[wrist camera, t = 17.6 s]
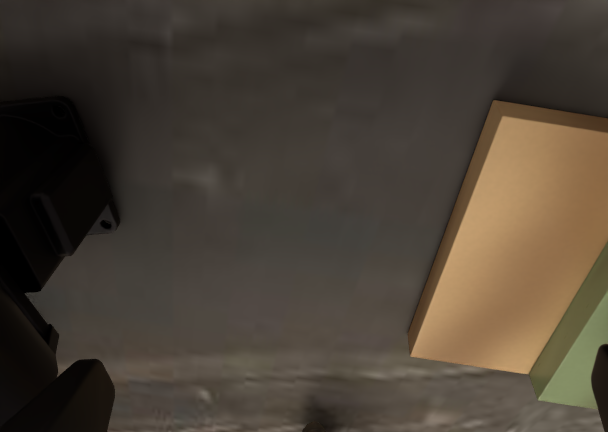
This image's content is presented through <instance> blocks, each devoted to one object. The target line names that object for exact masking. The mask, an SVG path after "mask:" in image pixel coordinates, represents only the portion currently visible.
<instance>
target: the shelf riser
mask: <svg viewBox="0 0 608 432" xmlns="http://www.w3.org/2000/svg"><path fill="white" fill-rule="evenodd" d="M408 342H409V350H410V356H411V357H418V358H425V359H431V360H438V361H444V362H451V363H457V364H464V365H470V366H477V367H483V368H490V369H496V370H503V371H509V372H516V373H522V374H529V376H530V379H531V382H532V385H533V388H534V391H535V394H536V397H537V399H538V400H540V401H546V402H553V403H559V404H566V405H573V406H579V407H586V408H592V409H598V407H597V404H596V400H595V397H594V393H593V390H592V385H591V374H592V370H593V366H594V362H595V359H596V355H597V351H598V348H599V347H600V346H601V345H602V344H608V118H602V117H596V116H589V115H583V114H577V113H571V112H565V111H559V110H552V109H546V108H540V107H534V106H528V105H522V104H515V103H509V102H503V101H497V100H493V102H492V105H491V108H490V111H489V113H488V116H487V119H486V121H485V124H484V127H483V130H482V132H481V135H480V138H479V141H478V143H477V146H476V149H475V151H474V154H473V157H472V160H471V162H470V165H469V168H468V171H467V173H466V176H465V179H464V182H463V184H462V187H461V190H460V192H459V195H458V198H457V201H456V203H455V206H454V209H453V212H452V214H451V217H450V220H449V222H448V225H447V228H446V231H445V233H444V236H443V239H442V242H441V244H440V247H439V250H438V252H437V255H436V258H435V261H434V263H433V266H432V269H431V272H430V274H429V277H428V280H427V283H426V285H425V288H424V291H423V293H422V296H421V299H420V302H419V304H418V307H417V310H416V313H415V315H414V318H413V321H412V323H411V326H410V329H409V332H408Z"/></svg>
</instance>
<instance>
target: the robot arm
mask: <svg viewBox="0 0 608 432" xmlns="http://www.w3.org/2000/svg"><path fill="white" fill-rule="evenodd" d="M57 106H60V107H62V108H63V109H64V111H65V114H64V113H61V112H60V111H59V110H58V109H57ZM104 220H107V221H109V222H110V223H111V224H108V223H106V222H105V221H104ZM119 224H120V219H119V217H118V214H117V212H116V209H115V206H114V204H113V201H112V193H111V190H110V188H109V185H108V183H107V180H106V178H105V175H104V173H103V170H102V168H101V165H100V163H99V160H98V158H97V155H96V152H95V150H94V148H93V147H92V146H91V145H90V144H89V141H88V139H87V136H86V134H85V131H84V129H83V126H82V124H81V121H80V119H79V116H78V114H77V111H76V109H75V106H74V105H73V103H72V102H71V101H70V100H69V99H68V98H65V97H63V96H54V97H44V98H35V99H26V100H16V101H7V102H0V432H107V429H108V424H109V420H110V416H111V412H112V407H113V403H114V398H115V389H114V385H113V383H112V381H111V379H110V377H109V375H108V373H107V371H106V369H105V367H104V365H103V363H102V362H101V361H100V360H98V359H84V360H78V361H76V362H75V363H73V364H72V365H71V366H70V367H69V368H68V369H66V370H65V371H64V372H63V373H62V374H61V375H60V376H58V377H57V374H58V367H57V361H56V349H57V344H58V339H59V334H58V333H57V331H56V330H55V329H54V327H53V326H52V325H51V324H47V323H46V321H45V320H44V319H43V317H42V316H41V315H40V314H39V312H38V311H37V310H36V308H35V307H34V306H33V304H32V303H31V302H30V300H29V299H28V298H27V296H26V295H25V293H28V292H39V291H41V289H42V288H43V287H44V285H45V284H46V282H47V281H48V280H49V278H50V277H51V275H52V274H53V273H54V271H55V270H56V268H57V267H58V266H59V264H60V263H61V261H62V260H63V259H64V257H65V256H71V255H73V254H74V252H75V251H76V249H77V248H78V246H79V245H80V243H81V242H82V241H83V239H84V238H85V236H86V235H93V234H108V233H113V232H114V231H116V229H117V227H118V226H119ZM591 385H592V390H593V393H594V397H595V400H596V404H597V407H598V410H599V414H600V417H601V421H602V424H603V428H604V431H605V432H608V344H602V345H601V346H600V347H599V348H598V351H597V355H596V359H595V362H594V366H593V370H592V374H591Z"/></svg>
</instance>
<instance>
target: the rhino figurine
mask: <svg viewBox="0 0 608 432" xmlns="http://www.w3.org/2000/svg"><path fill="white" fill-rule="evenodd" d="M302 432H326V431H325V429H324V427H323V426H322V425H321V424H320V423H318V422H311V423H309V424H307V425H306V427H305V428H304V429H303V431H302Z"/></svg>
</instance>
